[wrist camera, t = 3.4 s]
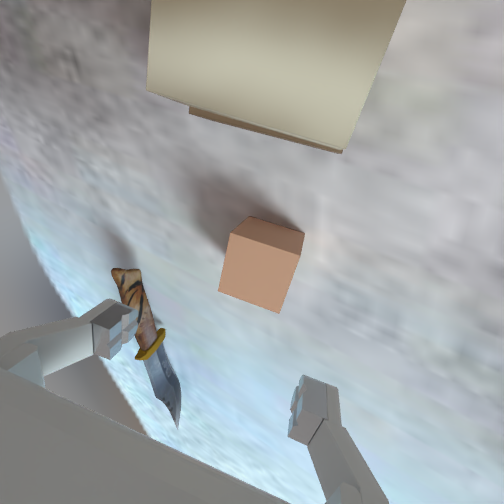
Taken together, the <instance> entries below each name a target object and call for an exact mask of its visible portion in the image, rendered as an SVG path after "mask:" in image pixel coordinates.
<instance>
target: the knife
mask: <svg viewBox="0 0 504 504" xmlns="http://www.w3.org/2000/svg"><path fill="white" fill-rule="evenodd" d="M111 274H112V277H113V279H114V281H115V282H116V284H117V287H118V289H119V293H120V297H121V301H122V304H125V305H127V306H129V307H132V308H134V309H136V310H138V317H137V318H136V321H137V323H138V328H137V331H136V333H135V335H134V336H135V338H136V340H137V342H138V344H139V346H140V349H139V351H138V353H137V355H136V356H135V359H136V360H143V361H144V364H145V367H146V370H147V372H148V375H149V378H150V381H151V384H152V387H153V390H154V393H155V396H156V398H158V399H159V400H161V401H162V402H163V403H164V404H165V405H166V406H167V408H168V409H169V411H170V413H171V415H172V418H173V420H174V422H175V425H176V427H177V430H178V425H179V419H180V411H181V388H180V383H179V380H178V378H177V376H176V374H175V373H174V371H173V370H172V368H171V366H170V364H169V361H168V358H167V356H166V353H165V349H164V346H163V340H164V338H165V329H164V328H160V329H159V330H158V331H157V332H156V328H155V324H154V319H153V315H152V312H151V308H150V305H149V302H148V299H147V296H146V293H145V290H144V287H143V284H142V278H141V271H140V270H139V269H129V270H125V269H120V268H113V269H112V270H111Z"/></svg>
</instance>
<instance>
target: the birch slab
mask: <svg viewBox="0 0 504 504" xmlns="http://www.w3.org/2000/svg"><path fill="white" fill-rule="evenodd" d="M405 3H406V0H152V1H151V17H150V34H149V50H148V66H147V82H146V90H147V91H149V92H152V93H155V94H157V95H160V96H163V97H166V98H168V99H171V100H174V101H177V102H179V103H182V104H185V105H188V106H191V107H194V108H198V109H201V110H205V111H208V112H211V113H215V114H218V115H222V116H225V117H228V118H232V119H235V120H239V121H242V122H245V123H249V124H252V125H255V126H259V127H262V128H266V129H269V130H272V131H276V132H279V133H283V134H286V135H289V136H293V137H296V138H300V139H303V140H306V141H310V142H313V143H316V144H320V145H323V146H327V147H330V148H333V149H337V150H343V149H346V147H347V145H348V143H349V140H350V138H351V135H352V133H353V130H354V128H355V125H356V123H357V120H358V118H359V116H360V113H361V111H362V108H363V106H364V103H365V101H366V98H367V96H368V93H369V91H370V89H371V86H372V84H373V81H374V79H375V76H376V74H377V71H378V69H379V66H380V64H381V61H382V59H383V57H384V54H385V52H386V49H387V47H388V44H389V42H390V39H391V37H392V34H393V32H394V30H395V27H396V25H397V22H398V20H399V17H400V15H401V12H402V10H403V7H404V5H405Z"/></svg>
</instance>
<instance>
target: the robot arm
mask: <svg viewBox="0 0 504 504" xmlns="http://www.w3.org/2000/svg"><path fill="white" fill-rule="evenodd" d="M137 317H138V310H136V309H134V308H132V307H129V306H127V305H125V304H122V303H120V302H117V301H115V300H112V299H106V300H105V301H103V302H102V303H100V304H99V305H97V306H96V307H94V308H93V309H91V310H90V311H88V312H87V313H85V314H84V315H82V316H81V317H79V318H78V317H73V318H68V319H64V320H60V321H56V322H52V323H48V324H44V325H39V326H35V327H31V328H26V329H22V330H18V331H14V332H9V333H8V334H6V335H4V336H2V337H1V338H0V504H290V503H288V502H286V501H284V500H282V499H280V498H278V497H276V496H273V495H271V494H269V493H267V492H265V491H263V490H261V489H259V488H256V487H254V486H252V485H250V484H248V483H246V482H244V481H241V480H239V479H237V478H235V477H233V476H231V475H229V474H227V473H224V472H222V471H220V470H218V469H216V468H214V467H212V466H210V465H207V464H205V463H203V462H201V461H199V460H197V459H195V458H193V457H190V456H188V455H186V454H184V453H182V452H180V451H178V450H176V449H173V448H171V447H169V446H167V445H165V444H163V443H161V442H158V441H156V440H154V439H152V438H150V437H148V436H146V435H143V434H141V433H139V432H137V431H135V430H133V429H131V428H128V427H126V426H124V425H122V424H120V423H118V422H116V421H114V420H111V419H109V418H107V417H105V416H103V415H101V414H99V413H96V412H94V411H92V410H90V409H88V408H86V407H84V406H82V405H79V404H77V403H75V402H73V401H71V400H69V399H67V398H64V397H62V396H60V395H58V394H56V393H54V392H52V391H49V390H48V389H45V382H44V377H43V376H45V375H48V374H50V373H52V372H55V371H57V370H59V369H61V368H63V367H66V366H68V365H71V364H73V363H75V362H77V361H80V360H82V359H84V358H86V357H89V356H91V355H93V353H94V354H96V355H99V356H101V357H104V358H106V359H109V360H111V359H112V358H113V357H114V356H115V355H116V354H117V353H118V352H119V351H120V350H121V347H122V344H125V343H128V342H129V341H130V340H131V339H132V338H133V336H134V335H135V333H136V331H137V328H138V323H137V321H136V318H137ZM290 410H291V412H292V415H291V417H290V419H289V427H288V437H290V438H292V439H294V440H296V441H298V442H300V443H302V444H305V445H307V446H308V447H307V448H308V450H309V453H310V456H311V459H312V461H313V464H314V467H315V470H316V473H317V475H318V478H319V481H320V484H321V487H322V489H323V492H324V495H325V498H326V501H327V502H326V503H325V504H389V501H388V499H387V498H386V496H385V494H384V492H383V491H382V489H381V487H380V486H379V484H378V482H377V481H376V479H375V477H374V476H373V474H372V472H371V470H370V469H369V467H368V465H367V464H366V462H365V460H364V459H363V457H362V455H361V453H360V452H359V450H358V448H357V447H356V445H355V443H354V442H353V440H352V438H351V437H350V435H349V433H348V431H347V430H346V428H345V427H342V423H341V413H340V403H339V392H338V389H337V387H334V386H331V385H329V384H326V383H324V382H321V381H319V380H316V379H313V378H311V377H308V376H305V375H302V376H301V378H300V380H299V386H297V387H296V388H295V391H294V393H293V397H292V401H291V408H290Z"/></svg>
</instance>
